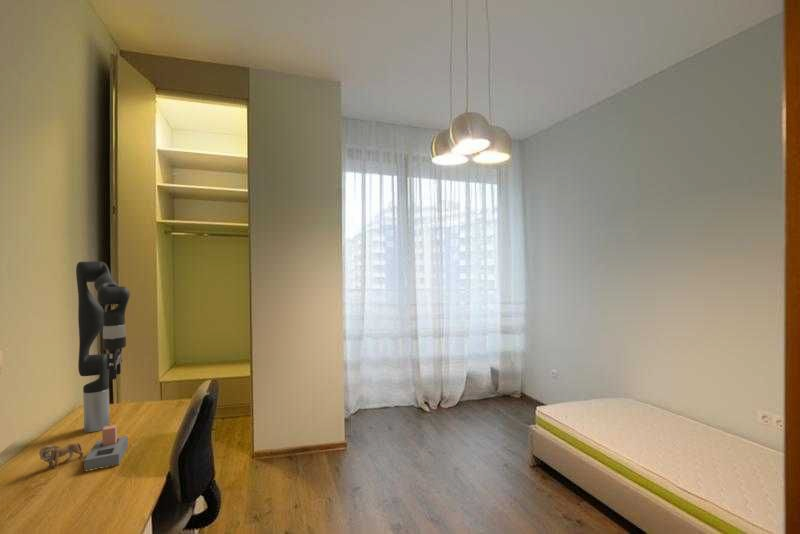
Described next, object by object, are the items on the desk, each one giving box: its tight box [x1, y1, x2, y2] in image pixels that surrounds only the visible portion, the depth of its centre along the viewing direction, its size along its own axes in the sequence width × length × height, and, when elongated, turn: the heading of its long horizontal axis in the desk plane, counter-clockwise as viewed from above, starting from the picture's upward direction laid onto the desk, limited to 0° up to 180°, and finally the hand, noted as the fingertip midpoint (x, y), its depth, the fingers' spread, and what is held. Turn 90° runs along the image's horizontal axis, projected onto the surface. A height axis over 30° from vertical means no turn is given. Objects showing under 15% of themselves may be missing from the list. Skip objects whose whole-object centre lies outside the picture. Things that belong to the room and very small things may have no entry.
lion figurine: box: [38, 441, 84, 470], centre depth 146 cm, size 15×5×9 cm, turn 166°
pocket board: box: [83, 435, 129, 472], centre depth 150 cm, size 18×10×4 cm, turn 26°
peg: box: [101, 424, 118, 446], centre depth 154 cm, size 4×4×10 cm
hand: (115, 376), depth 159 cm, fingers open, 8 cm apart
